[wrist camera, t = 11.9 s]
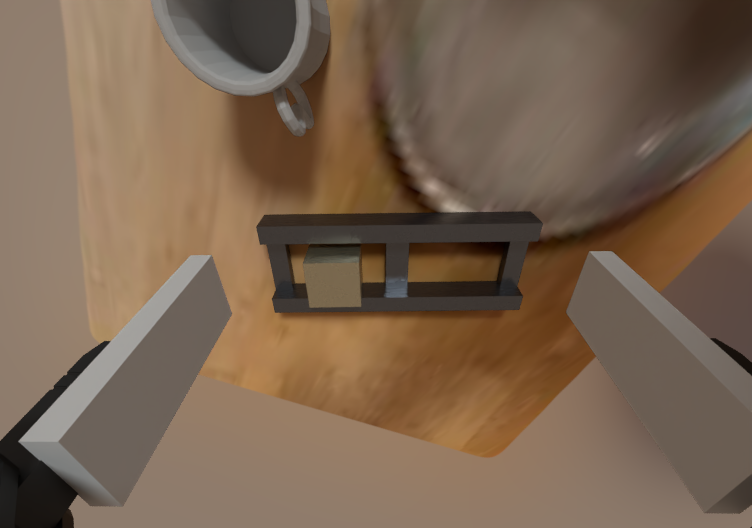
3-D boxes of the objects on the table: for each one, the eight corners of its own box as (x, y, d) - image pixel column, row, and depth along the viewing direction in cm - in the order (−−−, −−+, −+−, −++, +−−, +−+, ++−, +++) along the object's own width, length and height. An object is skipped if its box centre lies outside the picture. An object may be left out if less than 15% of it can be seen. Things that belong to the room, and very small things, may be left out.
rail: (264, 214, 36) (256, 226, 33) (530, 211, 36) (543, 223, 33) (281, 296, 41) (275, 312, 39) (510, 294, 41) (519, 309, 39)
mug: (194, -20, 26) (103, -59, 17) (300, -75, 24) (260, -151, 15) (273, 139, 32) (236, 168, 23) (362, 103, 30) (358, 120, 22)
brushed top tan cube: (311, 238, 37) (302, 263, 33) (360, 237, 37) (358, 262, 32) (317, 278, 40) (309, 307, 35) (362, 277, 40) (361, 306, 35)
